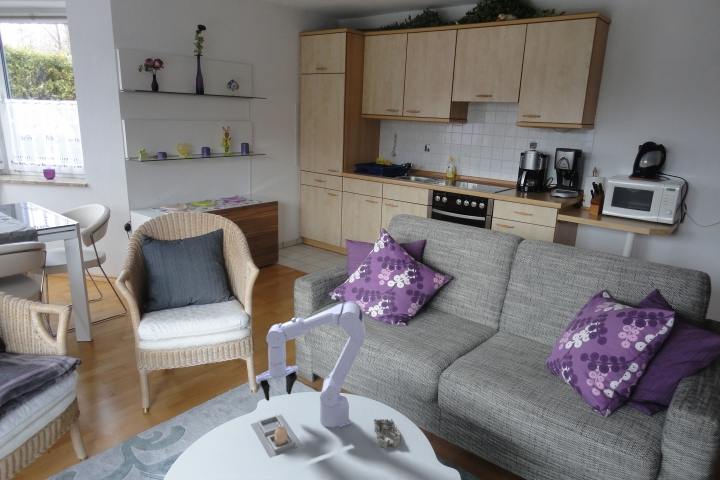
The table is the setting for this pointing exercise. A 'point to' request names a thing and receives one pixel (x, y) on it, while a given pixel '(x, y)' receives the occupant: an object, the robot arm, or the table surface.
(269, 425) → the egg stand
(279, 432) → the egg
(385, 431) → the grey stone ruin model
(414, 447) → the table surface
